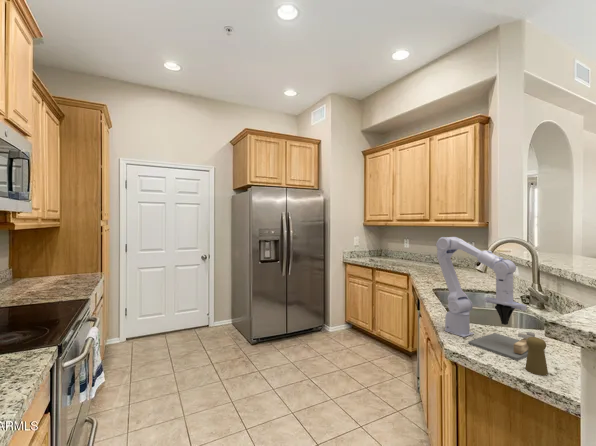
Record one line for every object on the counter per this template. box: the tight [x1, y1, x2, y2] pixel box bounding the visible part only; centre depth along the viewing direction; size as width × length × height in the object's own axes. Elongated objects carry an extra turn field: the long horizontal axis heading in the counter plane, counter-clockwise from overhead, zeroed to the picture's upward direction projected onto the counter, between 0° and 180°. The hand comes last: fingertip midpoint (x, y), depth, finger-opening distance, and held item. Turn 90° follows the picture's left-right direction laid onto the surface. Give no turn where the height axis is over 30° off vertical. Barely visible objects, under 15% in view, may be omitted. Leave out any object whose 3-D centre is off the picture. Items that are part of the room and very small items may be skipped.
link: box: [514, 336, 538, 354], centre depth 116 cm, size 16×4×3 cm, turn 125°
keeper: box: [517, 332, 534, 339], centre depth 117 cm, size 5×2×5 cm, turn 30°
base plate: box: [467, 331, 536, 362], centre depth 121 cm, size 18×20×6 cm
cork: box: [525, 336, 549, 376], centre depth 101 cm, size 6×6×11 cm
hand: (504, 324), depth 120 cm, fingers closed
